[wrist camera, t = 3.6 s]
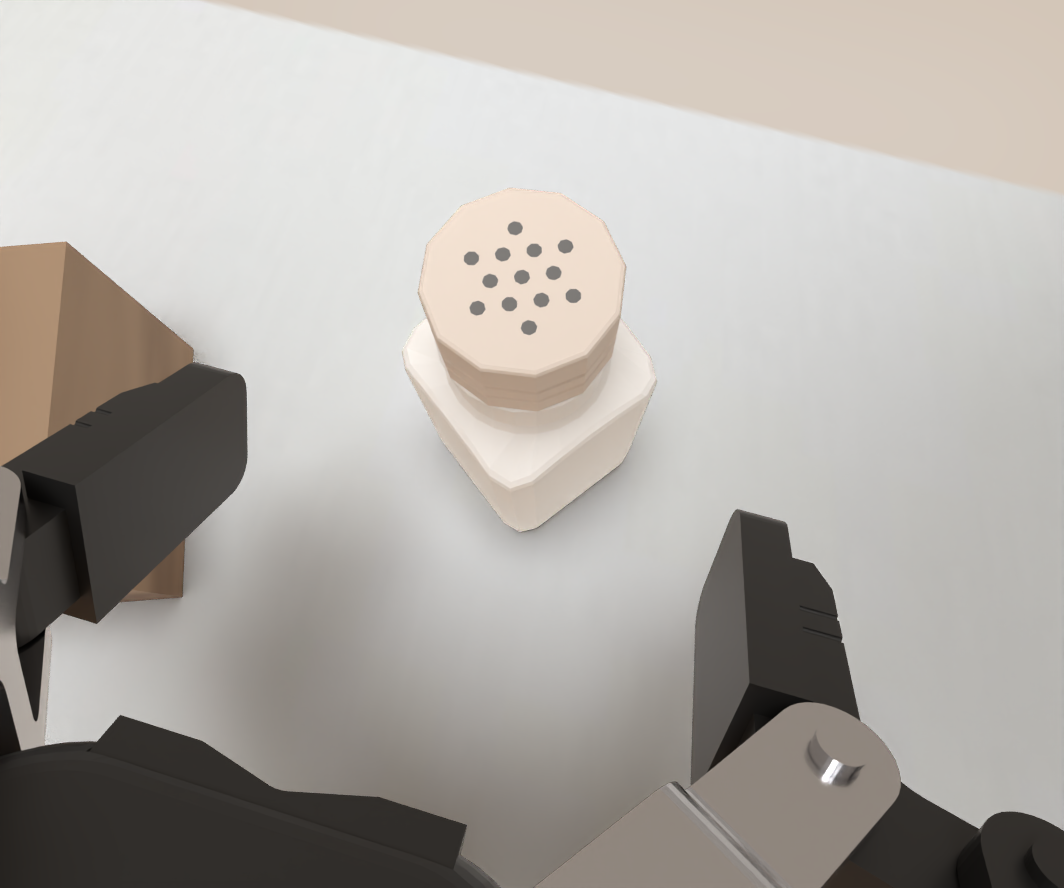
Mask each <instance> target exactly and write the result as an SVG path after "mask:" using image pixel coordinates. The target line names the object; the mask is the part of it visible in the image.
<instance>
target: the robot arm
mask: <svg viewBox="0 0 1064 888" xmlns="http://www.w3.org/2000/svg"><path fill="white" fill-rule="evenodd" d="M246 464H247V392H246V384H245V381H244V378H243V377H242V376H241V375H240V374H238V373H234V372H230V371H226V370H223V369H219V368H215V367H212V366H208V365H204V364H200V363H195V362H193V363H190V364H188V365H186V366H185V367H183V368H181V369H180V370H178V371H177V372H175V373H174V374H172V375H170V376H169V377H167V378H166V379H164V380H163V381H161V382H159V383H152V384H148V385H145V386H142V387H138V388H135V389H132V390H128V391H125V392H122V393H120V394H118V395H117V396H115V397H113V398H112V399H110V400H108V401H107V402H105V403H103V404H102V405H100V406H99V407H97V408H96V411H95V412H93V411H90V412H89V413H87V414H86V415H84V416H82V417H81V418H79V419H77V420H76V421H75V424H74V425H72V424H69V425H68V426H66V427H64V428H63V429H61V430H59V431H58V432H56V433H55V434H53V435H51V436H50V437H48V438H46V439H45V440H43V441H41V442H40V443H38V444H37V445H35V446H33V447H32V448H30V449H28V450H27V451H25V452H23V453H22V454H20V455H19V456H17V457H15V458H14V459H12V460H10V461H9V462H7V463H6V464H4V465H2V466H0V888H501V887H500V886H499V885H498V884H497V883H496V882H495V881H494V880H493V879H492V878H490V877H489V876H488V875H487V874H486V873H485V872H483V871H482V870H481V869H480V868H479V867H478V866H476V865H475V864H473V863H472V862H470V861H469V860H467V859H466V858H464V857H463V856H461V855H460V854H461V850H462V845H463V841H464V837H465V832H466V828H467V825H465V824H462V823H459V822H456V821H453V820H449V819H446V818H443V817H440V816H437V815H434V814H430V813H427V812H424V811H421V810H418V809H415V808H412V807H408V806H405V805H402V804H399V803H396V802H393V801H389V800H386V799H383V798H380V797H368V796H352V795H336V794H320V793H304V792H288V791H281V790H278V789H275V788H273V787H271V786H269V785H268V784H266V783H265V782H263V781H262V780H260V779H259V778H257V777H256V776H254V775H253V774H251V773H250V772H248V771H247V770H245V769H244V768H242V767H241V766H239V765H238V764H236V763H235V762H233V761H232V760H230V759H229V758H227V757H226V756H224V755H223V754H221V753H220V752H218V751H217V750H215V749H214V748H212V747H211V746H209V745H208V744H206V743H205V742H203V741H200V740H197V739H194V738H191V737H188V736H185V735H181V734H178V733H175V732H172V731H169V730H166V729H163V728H159V727H156V726H153V725H150V724H147V723H144V722H140V721H137V720H134V719H131V718H128V717H125V716H122V715H120V716H119V717H118V718H117V719H116V720H115V722H114V723H113V724H112V725H111V726H110V727H109V728H108V730H107V731H106V732H105V733H104V734H103V735H102V737H101V738H100V739H99V740H98V741H97V742H94V741H87V742H66V743H59V744H52V745H45V733H46V718H47V704H48V690H49V676H50V662H51V648H52V636H51V631H50V626H49V625H50V624H51V623H52V622H53V621H54V620H55V619H57V618H58V617H59V616H60V615H61V614H62V613H63V614H67V615H70V616H73V617H76V618H80V619H83V620H86V621H89V622H93V623H96V624H97V623H98V622H99V621H100V620H101V619H102V618H103V617H104V616H105V615H107V614H108V613H109V612H110V611H111V610H112V609H113V608H114V607H115V606H116V605H117V604H118V603H119V602H120V601H121V600H122V599H123V598H124V597H125V596H126V595H127V594H128V593H129V592H130V591H131V590H132V589H134V588H135V587H136V586H137V585H138V584H139V583H140V582H141V581H142V580H143V579H144V578H145V577H146V576H147V575H148V574H149V573H150V572H151V571H152V570H153V569H154V568H155V567H156V566H157V565H158V564H159V563H160V562H162V561H163V560H164V559H165V558H166V557H167V556H168V555H169V554H170V553H171V552H172V551H173V550H174V549H175V548H176V547H177V546H178V545H179V544H180V543H181V542H182V541H183V540H184V539H185V538H186V537H187V536H189V535H190V534H191V533H192V532H193V531H194V530H195V529H196V528H197V527H198V526H199V525H200V524H201V523H202V522H203V521H204V520H205V519H206V518H207V517H208V516H209V515H210V514H211V513H212V512H213V511H214V510H215V509H217V508H218V507H219V506H220V505H221V504H222V503H223V502H224V501H225V500H226V499H227V498H228V497H229V496H230V495H231V494H232V493H233V492H234V491H235V490H236V488H237V487H238V485H239V483H240V481H241V479H242V477H243V475H244V472H245V468H246ZM837 617H838V614H837V610H836V605H835V600H834V596H833V591H832V589H831V587H830V586H829V585H828V583H827V582H826V580H825V579H824V578H823V576H822V575H821V573H820V572H819V571H818V569H817V568H816V566H815V565H814V564H813V563H809V562H806V561H802V560H798V559H795V558H792V553H791V547H790V540H789V533H788V527H787V524H786V522H783V521H780V520H776V519H772V518H769V517H765V516H761V515H757V514H754V513H750V512H746V511H743V510H739V509H737V510H735V512H734V513H733V515H732V517H731V519H730V521H729V523H728V526H727V528H726V531H725V533H724V536H723V538H722V541H721V544H720V546H719V549H718V551H717V554H716V556H715V559H714V561H713V564H712V566H711V569H710V572H709V574H708V577H707V579H706V582H705V584H704V587H703V590H702V593H701V597H700V601H699V605H698V610H697V616H696V624H695V655H694V689H693V722H692V756H691V786H690V787H689V788H687V789H685V790H684V789H683V788H682V787H681V786H680V785H679V784H678V783H677V782H670V783H668V784H666V785H664V786H662V787H661V788H659V789H658V790H656V791H655V792H654V793H652V794H651V795H650V796H649V797H647V798H646V799H645V800H644V801H642V802H641V803H640V804H639V805H637V806H636V807H635V808H634V809H632V810H631V811H630V812H628V813H627V814H626V815H625V816H623V817H622V818H621V819H620V820H618V821H617V822H616V823H615V824H613V825H612V826H611V827H609V828H608V829H607V830H606V831H604V832H603V833H602V834H601V835H599V836H598V837H597V838H596V839H594V840H593V841H592V842H591V843H589V844H588V845H587V846H585V847H584V848H583V849H582V850H580V851H579V852H578V853H577V854H575V855H574V856H573V857H572V858H570V859H569V860H568V861H566V862H565V863H564V864H563V865H561V866H560V867H559V868H558V869H556V870H555V871H554V872H553V873H551V874H550V875H549V876H548V877H546V878H545V879H544V880H542V881H541V882H540V883H539V884H537V885H536V886H535V887H534V888H1064V831H1063V830H1061V829H1060V828H1058V827H1056V826H1054V825H1052V824H1051V823H1049V822H1047V821H1045V820H1042V819H1040V818H1037V817H1035V816H1032V815H1028V814H1024V813H1019V812H1001V813H997V814H994V815H993V816H991V817H990V818H988V819H987V821H986V822H985V823H984V824H983V825H982V827H981V828H980V829H978V828H976V827H974V826H972V825H971V824H969V823H967V822H965V821H964V820H962V819H960V818H958V817H956V816H955V815H953V814H951V813H949V812H948V811H946V810H944V809H942V808H940V807H939V806H937V805H935V804H933V803H932V802H930V801H928V800H926V799H925V798H923V797H921V796H920V795H918V794H917V793H915V792H914V791H912V790H911V789H910V788H908V787H907V786H905V785H904V784H903V783H902V782H901V778H900V773H899V769H898V766H897V764H896V761H895V759H894V757H893V756H892V754H891V752H890V750H889V749H888V748H887V746H886V745H885V744H884V742H883V741H882V740H881V739H880V738H879V737H878V736H877V735H876V734H875V733H874V732H873V731H872V730H871V729H870V728H869V727H867V726H866V725H865V724H864V723H862V722H861V721H860V718H859V713H858V708H857V704H856V699H855V694H854V690H853V685H852V680H851V675H850V671H849V666H848V661H847V657H846V652H845V647H844V643H841V641H842V633H841V628H840V624H839V621H837Z"/></svg>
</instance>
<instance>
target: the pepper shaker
mask: <svg viewBox="0 0 1064 888" xmlns="http://www.w3.org/2000/svg"><path fill="white" fill-rule="evenodd" d="M625 273H626V265H625V263H624V261H623V259H622V257H621V255H620V253H619V251H618V249H617V247H616V245H615V243H614V241H613V239H612V237H611V235H610V233H609V231H608V229H607V227H606V224H605V222H604V221H602V220H601V219H599V218H598V217H596V216H595V215H593V214H592V213H590V212H589V211H587V210H586V209H584V208H583V207H581V206H580V205H578V204H577V203H575V202H574V201H572V200H571V199H569V198H568V197H566V196H565V195H563V194H561V193H555V192H545V191H535V190H526V189H516V188H508V189H505V190H502V191H499V192H497V193H494V194H491V195H489V196H486V197H483V198H481V199H478V200H475V201H473V202H470V203H467V204H465V205H462V206H460V208H459V209H458V210H457V211H456V212H455V213H454V214H453V215H452V217H451V218H450V219H449V220H448V221H447V222H446V223H445V224H444V226H443V227H442V228H441V229H440V230H439V231H438V232H437V233H436V235H435V236H434V237H433V238H432V239H431V240H430V241H429V242H428V244H427V246H426V251H425V256H424V262H423V267H422V272H421V278H420V283H419V288H418V295H419V298H420V301H421V304H422V306H423V309H424V312H425V314H426V317H427V318H425V319H424V320H423V321H422V322H421V323H419V324H418V325H417V326H416V327H415V328H414V329H413V331H412V332H411V334H410V336H409V338H408V340H407V342H406V344H405V346H404V348H403V350H402V355H403V360H404V365H405V370H406V372H407V374H408V376H409V378H410V380H411V382H412V384H413V386H414V388H415V389H416V391H417V393H418V395H419V397H420V399H421V401H422V403H423V405H424V407H425V409H426V411H427V413H428V415H429V417H430V419H431V421H432V423H433V425H434V427H435V428H436V430H437V432H438V434H439V436H440V438H441V440H442V442H443V443H444V444H445V446H446V447H447V448H448V450H449V451H450V452H451V453H452V455H453V456H454V457H455V459H456V460H457V461H458V463H459V464H460V465H461V467H462V468H463V469H464V471H465V472H466V473H467V475H468V476H469V477H470V478H471V480H472V481H473V482H474V484H475V485H476V486H477V488H478V489H479V490H480V492H481V493H482V494H483V496H484V497H485V498H486V499H487V501H488V502H489V503H490V505H491V506H492V507H493V509H494V510H495V511H496V513H497V514H498V515H499V516H500V518H501V519H502V520H503V522H504V523H505V524H507V525H508V526H510V527H512V528H514V529H515V530H517V531H519V532H523V531H526V530H530V529H534V528H537V527H539V526H540V525H541V524H543V523H544V522H545V521H547V520H548V519H549V518H551V517H552V516H553V515H554V514H556V513H557V512H558V511H560V510H561V509H562V508H564V507H565V506H566V505H568V504H569V503H570V502H571V501H573V500H574V499H575V498H577V497H578V496H579V495H581V494H582V493H583V492H585V491H586V490H587V489H588V488H590V487H591V486H592V485H594V484H595V483H596V482H598V481H599V480H600V479H602V478H603V477H604V476H605V475H607V474H608V473H609V472H611V471H612V470H613V469H615V468H616V467H617V466H619V465H620V464H621V463H622V462H623V460H624V458H625V456H626V455H627V453H628V451H629V449H630V447H631V445H632V442H633V440H634V437H635V435H636V433H637V430H638V428H639V425H640V423H641V420H642V418H643V415H644V413H645V410H646V408H647V405H648V403H649V400H650V398H651V396H652V393H653V391H654V388H655V386H656V383H657V379H656V375H655V371H654V367H653V364H652V360H651V357H650V355H649V354H648V353H647V351H646V350H645V349H644V347H643V346H642V345H641V343H640V342H639V341H638V339H637V338H636V337H635V335H634V334H633V333H632V331H631V330H630V329H629V327H628V326H627V325H626V324H625V322H624V321H623V320H622V319H621V318H620V317H621V309H622V300H623V291H624V282H625Z"/></svg>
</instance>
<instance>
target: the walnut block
mask: <svg viewBox="0 0 1064 888" xmlns="http://www.w3.org/2000/svg"><path fill="white" fill-rule="evenodd" d="M190 363H193V348H192V347H190V346H189V345H188V344H187V343H186V342H184V341H183V340H182V339H181V338H180V337H179V336H177V335H176V334H175V333H174V332H173V331H171V330H170V329H169V328H168V327H167V326H166V325H164V324H163V323H162V322H161V321H160V320H158V319H157V318H156V317H155V316H154V315H153V314H151V313H150V312H149V311H148V310H147V309H145V308H144V307H143V306H142V305H141V304H140V303H138V302H137V301H136V300H135V299H134V298H132V297H131V296H130V295H129V294H128V293H127V292H125V291H124V290H123V289H122V288H121V287H119V286H118V285H117V284H116V283H115V282H114V281H112V280H111V279H110V278H109V277H108V276H106V275H105V274H104V273H103V272H102V271H100V270H99V269H98V268H97V267H96V266H95V265H93V264H92V263H91V262H90V261H89V260H87V259H86V258H85V257H84V256H83V255H82V254H80V253H79V252H78V251H77V250H76V249H74V248H73V247H72V246H71V245H70V244H69V243H67V242H56V243H44V244H31V245H19V246H7V247H0V466H2V465H4V464H6V463H7V462H9V461H10V460H12V459H14V458H15V457H17V456H19V455H20V454H22V453H23V452H25V451H27V450H28V449H30V448H32V447H33V446H35V445H37V444H38V443H40V442H41V441H43V440H45V439H46V438H48V437H50V436H51V435H53V434H55V433H56V432H58V431H59V430H61V429H63V428H64V427H66V426H68V425H69V424H72V425H74V424H75V421H76V420H77V419H79V418H81V417H82V416H84V415H86V414H87V413H89V412H90V411H93V412H95V411H96V408H97V407H99V406H100V405H102V404H103V403H105V402H107V401H108V400H110V399H112V398H113V397H115V396H117V395H118V394H120V393H122V392H125V391H128V390H132V389H135V388H138V387H142V386H145V385H148V384H152V383H159V382H161V381H163V380H164V379H166V378H167V377H169V376H170V375H172V374H174V373H175V372H177V371H178V370H180V369H181V368H183V367H185V366H186V365H188V364H190ZM184 550H185V539H184V540H183V541H182V542H181V543H180V544H179V545H178V546H177V547H176V548H175V549H174V550H173V551H172V552H171V553H170V554H169V555H168V556H167V557H166V558H165V559H164V560H163V561H162V562H160V563H159V564H158V565H157V566H156V567H155V568H154V569H153V570H152V571H151V572H150V573H149V574H148V575H147V576H146V577H145V578H144V579H143V580H142V581H141V582H140V583H139V584H138V585H137V586H136V587H135V588H134V589H132V590H131V591H130V592H129V593H128V594H127V595H126V596H125V597H124V598H123V599H122V600H121V601H120V602H128V601H140V600H153V599H165V598H178V597H182V594H183V572H184Z"/></svg>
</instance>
